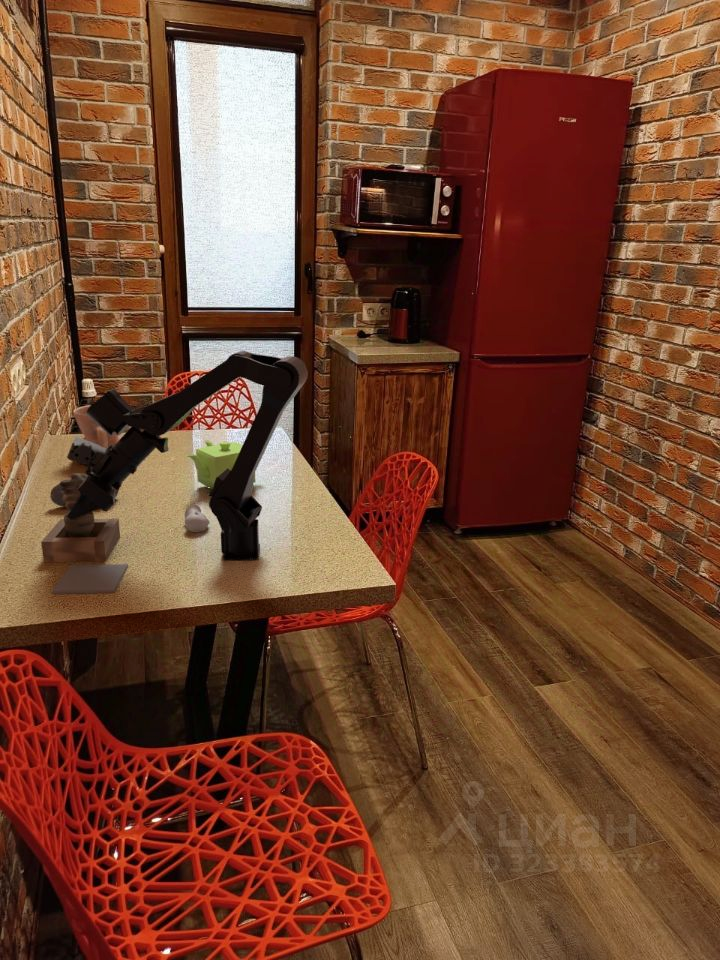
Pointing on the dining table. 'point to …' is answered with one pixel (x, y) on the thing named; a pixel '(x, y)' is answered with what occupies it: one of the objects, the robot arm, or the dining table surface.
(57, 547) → the socket block
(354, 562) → the dining table surface
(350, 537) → the dining table surface
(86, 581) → the rubber mat
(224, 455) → the kettle
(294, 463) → the dining table surface
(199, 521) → the pale two-lobed sculpture
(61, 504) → the perforated stone tool
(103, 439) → the ceramic jug
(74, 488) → the light bulb
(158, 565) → the dining table surface
